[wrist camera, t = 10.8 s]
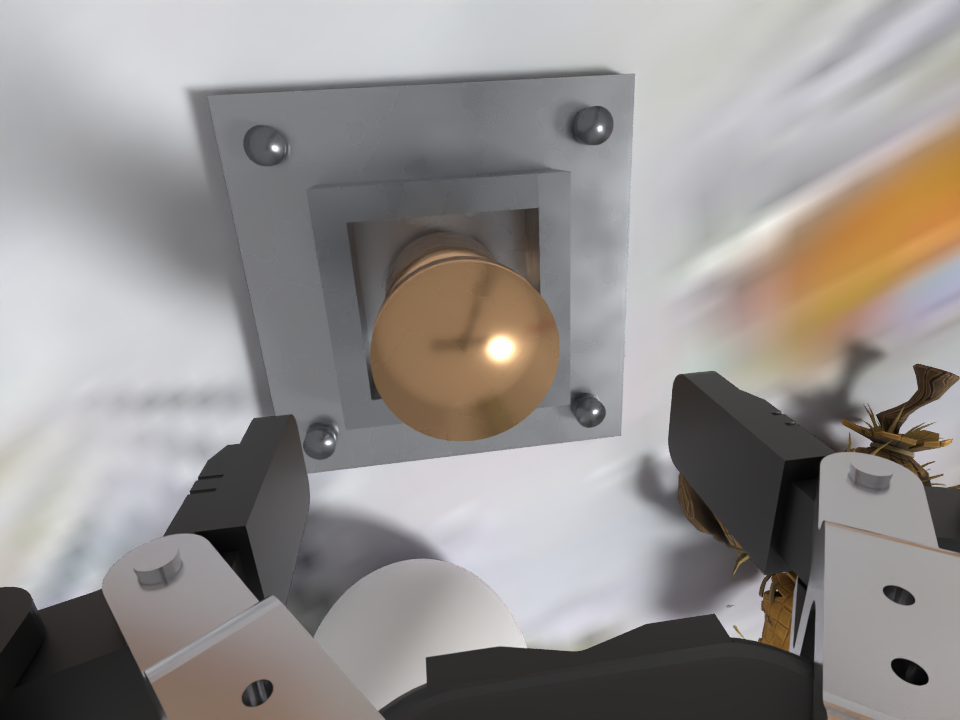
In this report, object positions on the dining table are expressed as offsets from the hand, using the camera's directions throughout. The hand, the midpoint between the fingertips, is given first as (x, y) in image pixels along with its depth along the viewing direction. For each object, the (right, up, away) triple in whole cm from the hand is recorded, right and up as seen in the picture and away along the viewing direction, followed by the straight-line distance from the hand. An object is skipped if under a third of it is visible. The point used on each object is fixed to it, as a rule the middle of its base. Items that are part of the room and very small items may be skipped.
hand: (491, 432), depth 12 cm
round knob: (-2, +4, +12) cm, 13 cm away
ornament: (-4, -11, +19) cm, 22 cm away
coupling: (-2, +5, +13) cm, 14 cm away
